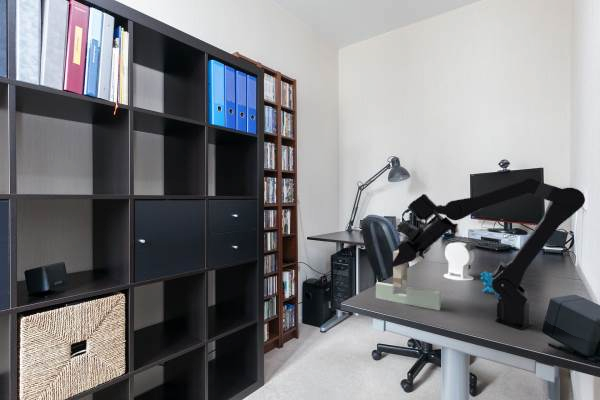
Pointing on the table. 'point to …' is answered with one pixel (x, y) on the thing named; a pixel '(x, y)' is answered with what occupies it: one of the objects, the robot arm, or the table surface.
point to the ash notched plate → (399, 272)
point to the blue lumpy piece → (488, 282)
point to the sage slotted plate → (409, 296)
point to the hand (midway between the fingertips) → (396, 263)
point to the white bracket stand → (459, 260)
